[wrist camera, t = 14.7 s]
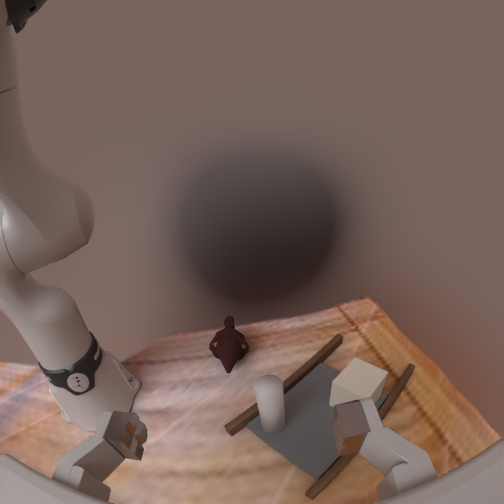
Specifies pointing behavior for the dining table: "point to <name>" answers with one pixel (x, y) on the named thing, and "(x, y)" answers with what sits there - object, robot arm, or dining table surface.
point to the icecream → (229, 345)
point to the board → (300, 419)
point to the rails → (295, 378)
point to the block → (357, 383)
